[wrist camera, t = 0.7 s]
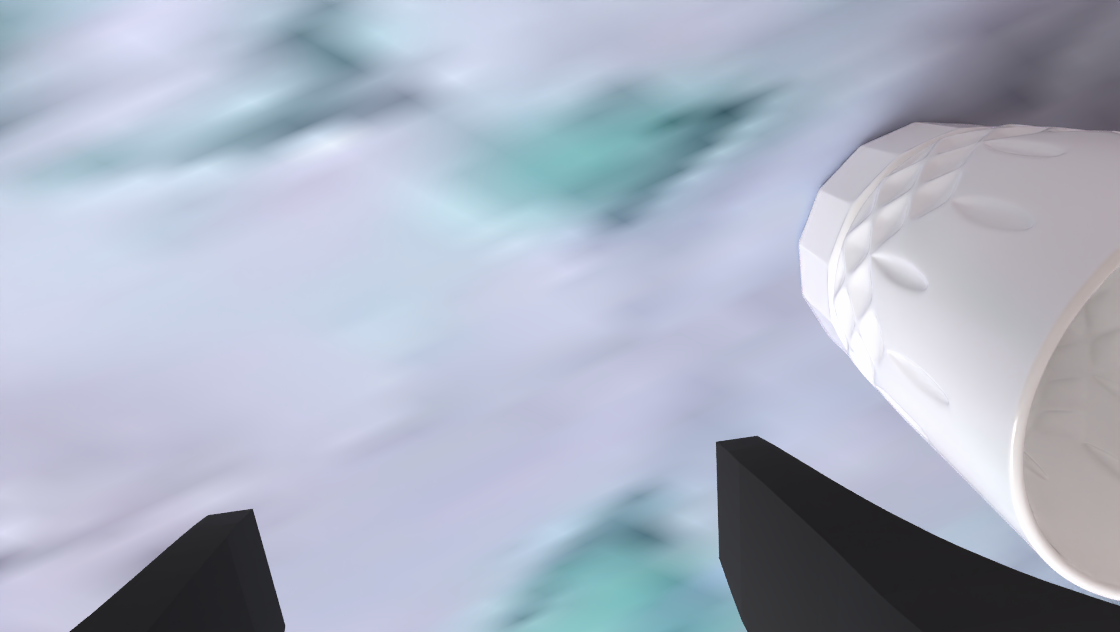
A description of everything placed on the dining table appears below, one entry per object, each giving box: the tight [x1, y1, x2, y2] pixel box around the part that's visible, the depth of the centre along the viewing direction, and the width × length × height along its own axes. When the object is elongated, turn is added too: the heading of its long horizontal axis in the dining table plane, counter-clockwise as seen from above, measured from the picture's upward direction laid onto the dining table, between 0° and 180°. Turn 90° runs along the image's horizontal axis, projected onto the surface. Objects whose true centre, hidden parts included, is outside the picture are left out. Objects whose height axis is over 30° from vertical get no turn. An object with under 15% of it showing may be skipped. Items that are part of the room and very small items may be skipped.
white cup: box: [799, 122, 1120, 601], centre depth 17 cm, size 8×8×10 cm
